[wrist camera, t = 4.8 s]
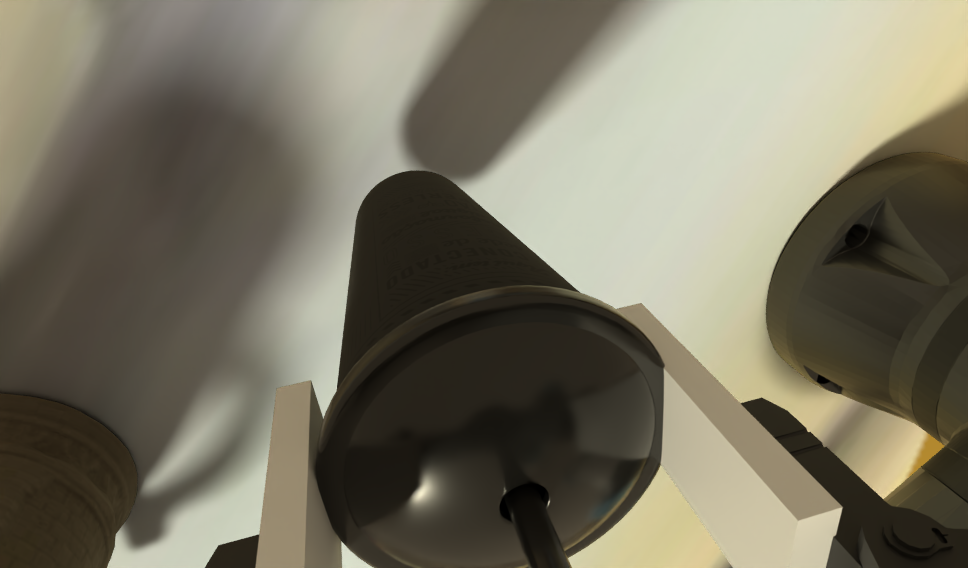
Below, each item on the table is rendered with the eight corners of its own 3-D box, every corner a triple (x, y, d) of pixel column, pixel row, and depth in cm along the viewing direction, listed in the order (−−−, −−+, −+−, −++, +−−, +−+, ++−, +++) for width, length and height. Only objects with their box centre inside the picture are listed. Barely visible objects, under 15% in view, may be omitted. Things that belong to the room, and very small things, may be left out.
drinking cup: (427, 89, 22) (842, 488, 5) (539, 232, 26) (1003, 752, 8) (274, 221, 23) (126, 995, 5) (405, 341, 26) (569, 1027, 9)
